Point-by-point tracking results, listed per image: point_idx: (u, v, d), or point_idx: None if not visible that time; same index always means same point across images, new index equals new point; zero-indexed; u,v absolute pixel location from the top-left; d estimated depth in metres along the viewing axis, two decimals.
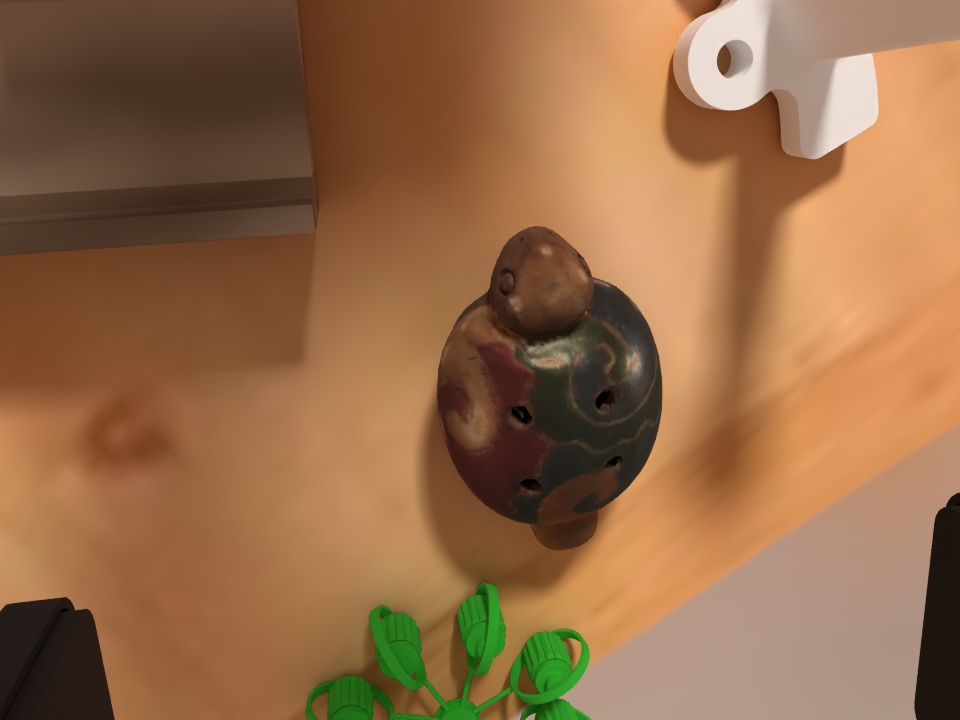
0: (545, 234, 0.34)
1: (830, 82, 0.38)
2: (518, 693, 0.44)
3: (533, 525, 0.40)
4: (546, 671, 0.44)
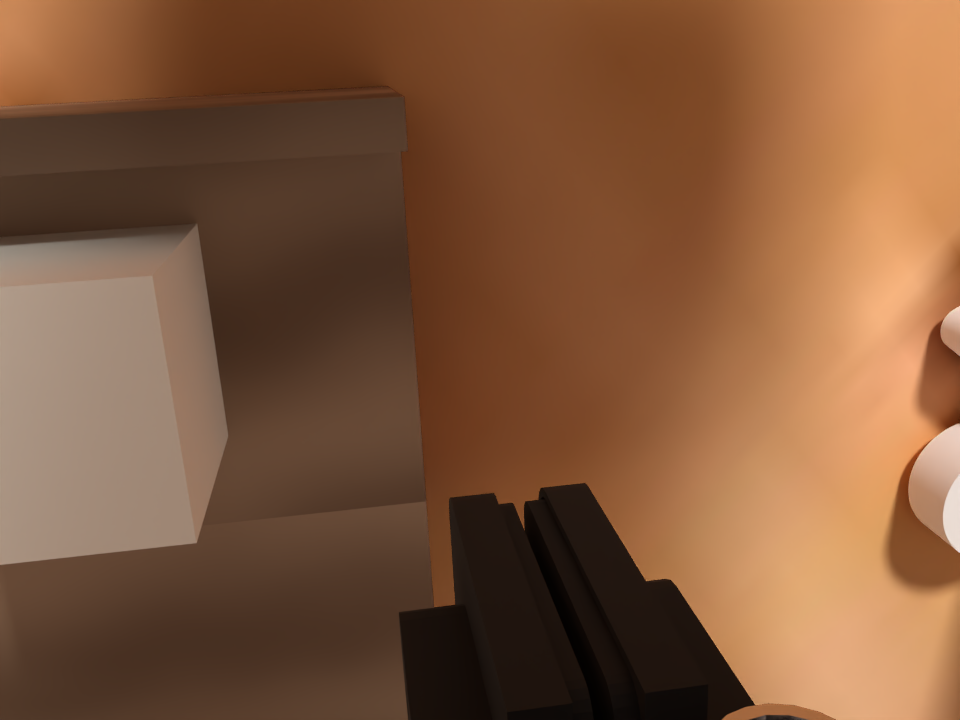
0: None
1: None
2: None
3: None
4: None
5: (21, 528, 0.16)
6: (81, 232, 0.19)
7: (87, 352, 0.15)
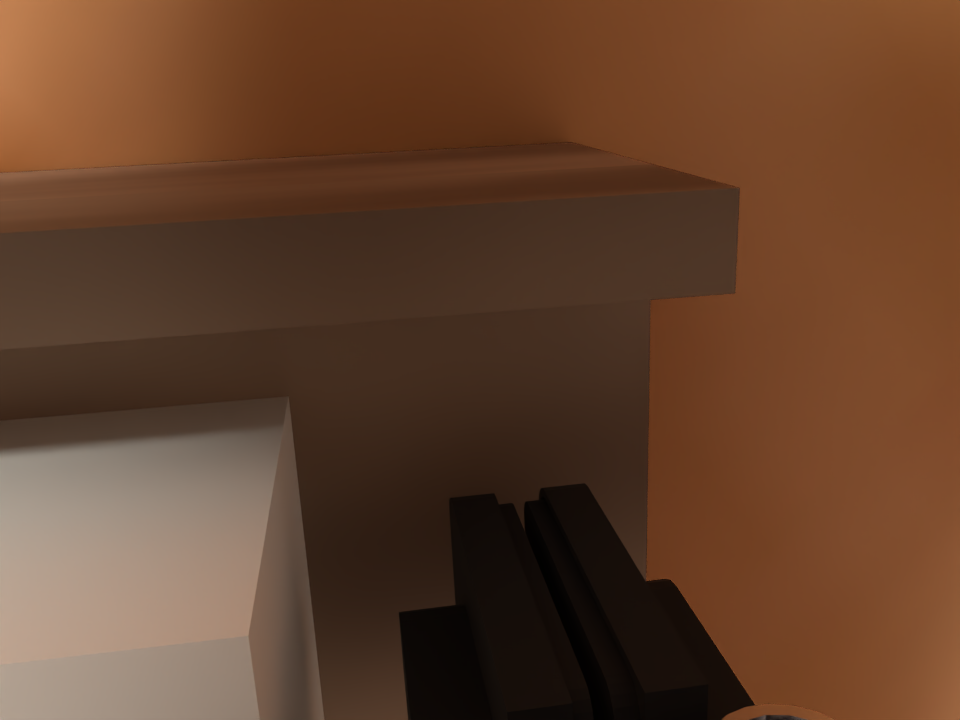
0: None
1: None
2: None
3: None
4: None
5: None
6: (80, 417, 0.11)
7: None
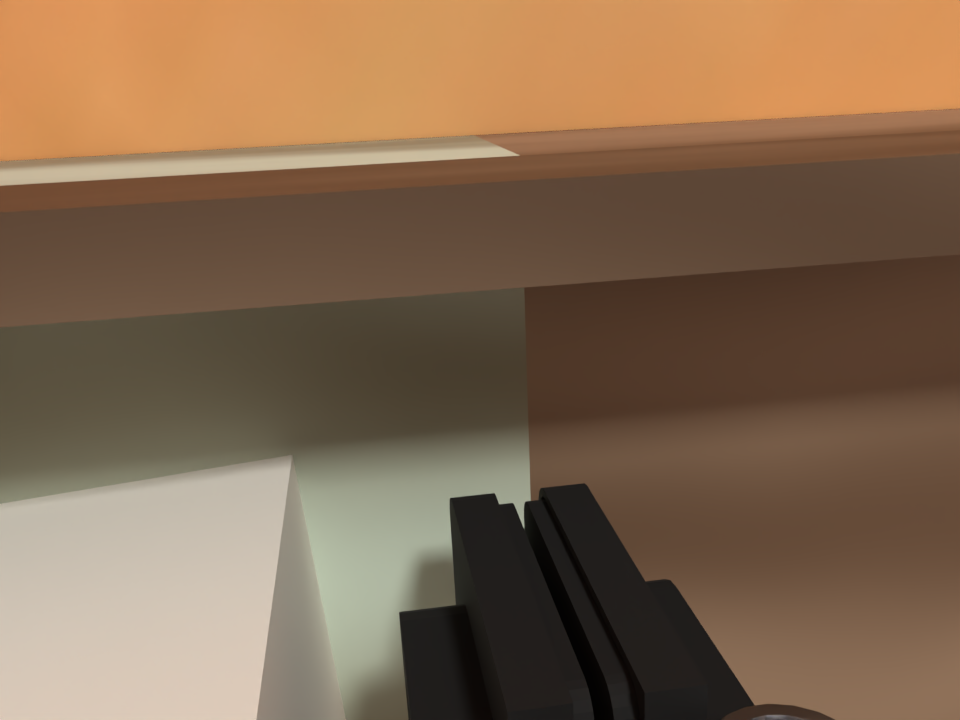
0: None
1: None
2: None
3: None
4: None
5: None
6: (96, 491, 0.11)
7: None
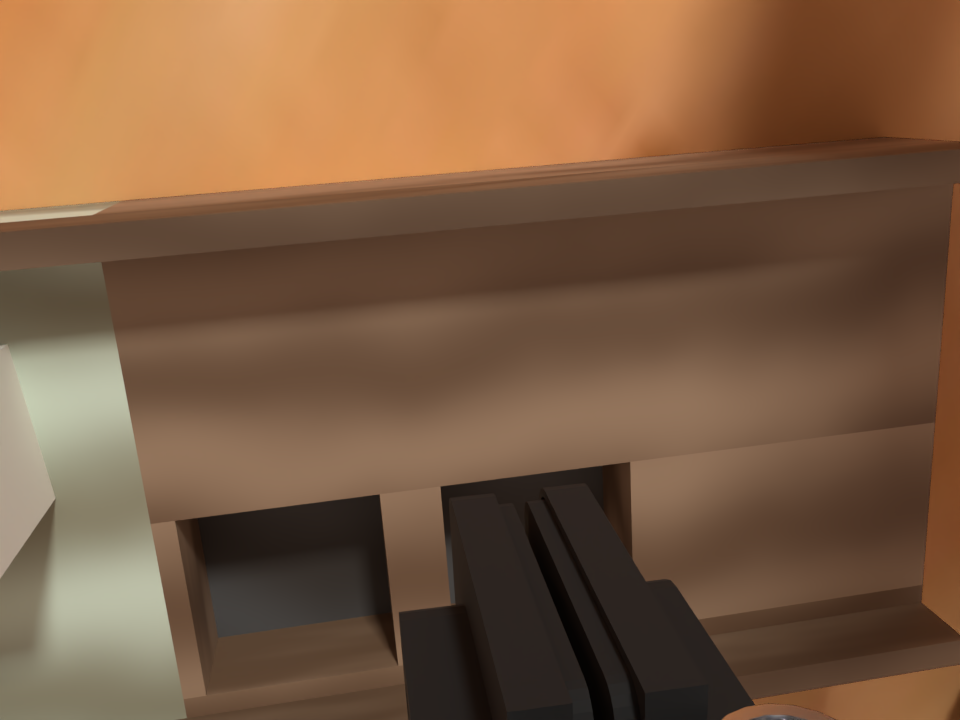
0: None
1: None
2: None
3: None
4: None
5: None
6: None
7: None
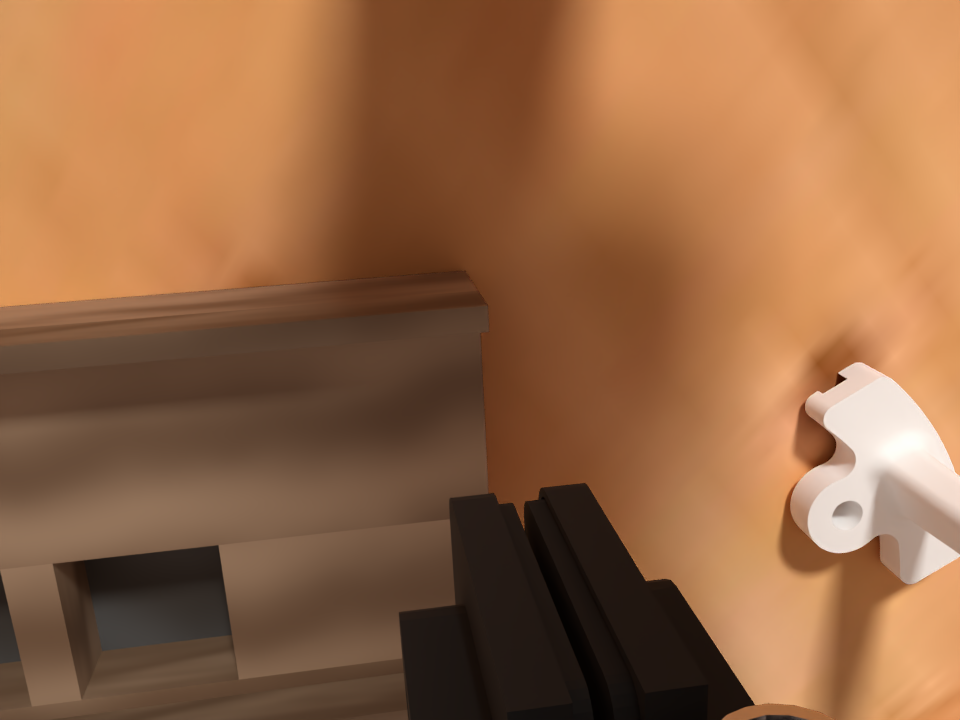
0: None
1: None
2: None
3: None
4: None
5: None
6: None
7: None
